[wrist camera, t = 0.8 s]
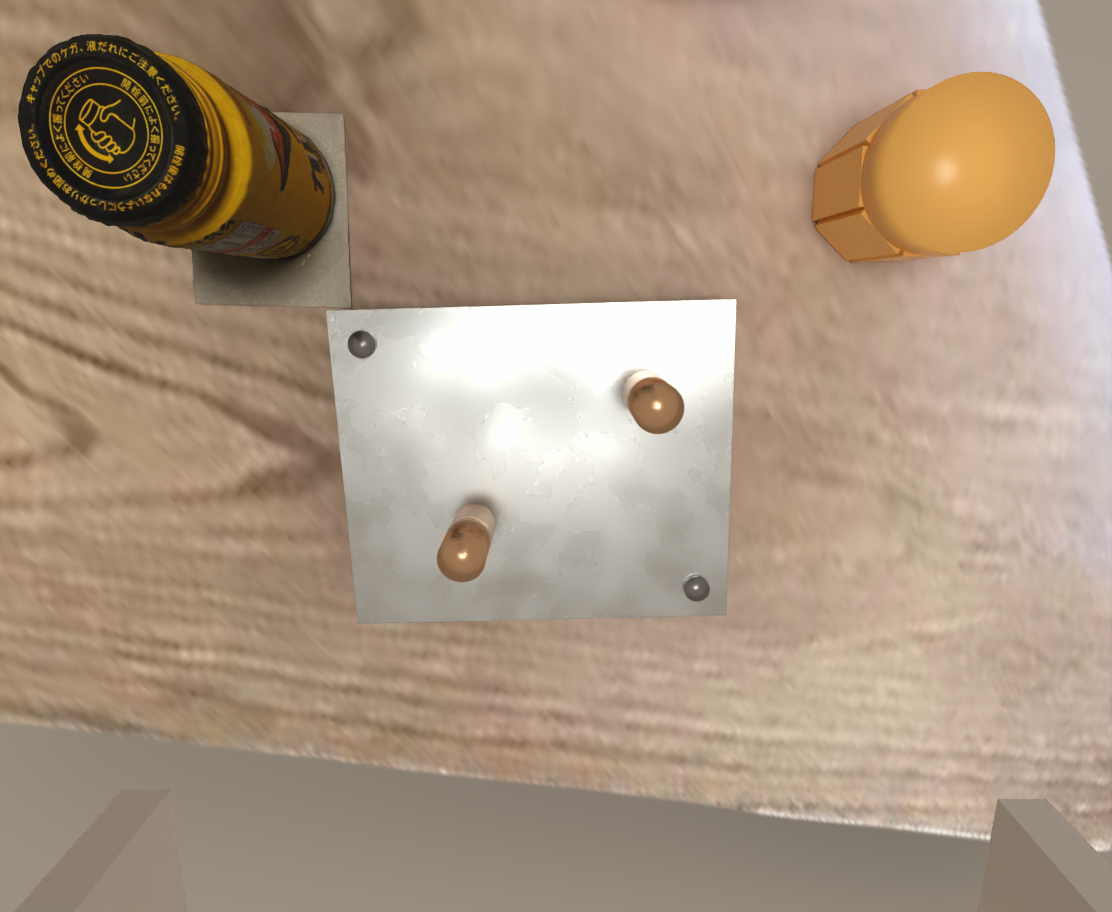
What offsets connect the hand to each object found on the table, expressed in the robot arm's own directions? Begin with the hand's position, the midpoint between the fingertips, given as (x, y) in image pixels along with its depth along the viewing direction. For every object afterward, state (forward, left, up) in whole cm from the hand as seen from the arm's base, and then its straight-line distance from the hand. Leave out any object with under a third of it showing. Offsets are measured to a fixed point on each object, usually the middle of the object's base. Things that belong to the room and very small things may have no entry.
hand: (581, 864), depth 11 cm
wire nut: (-13, +15, -24) cm, 31 cm away
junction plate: (-1, -1, -24) cm, 24 cm away
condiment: (-13, -13, -24) cm, 31 cm away
